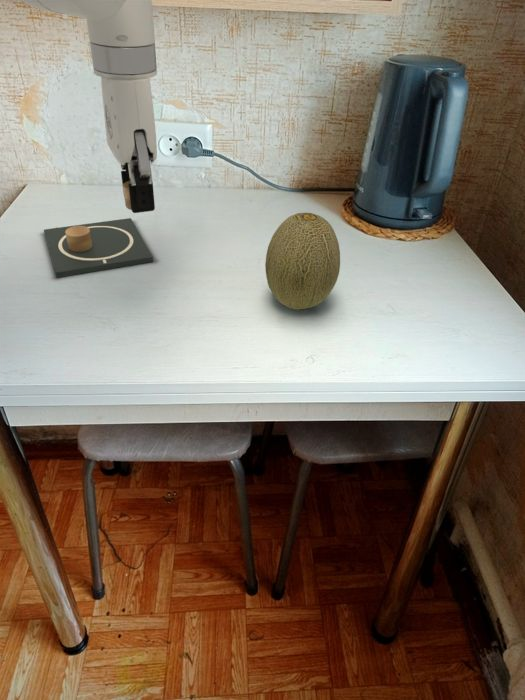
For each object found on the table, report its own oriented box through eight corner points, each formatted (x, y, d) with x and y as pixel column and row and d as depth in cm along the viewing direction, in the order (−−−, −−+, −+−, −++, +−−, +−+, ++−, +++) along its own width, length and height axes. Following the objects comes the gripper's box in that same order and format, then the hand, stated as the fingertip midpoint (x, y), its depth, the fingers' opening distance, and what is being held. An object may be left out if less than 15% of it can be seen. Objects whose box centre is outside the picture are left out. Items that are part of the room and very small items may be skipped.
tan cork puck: (70, 253, 87) (67, 237, 85) (66, 243, 89) (63, 227, 87) (94, 250, 88) (91, 234, 86) (90, 239, 91) (87, 224, 89)
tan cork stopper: (128, 212, 71) (126, 191, 69) (122, 201, 74) (120, 180, 72) (157, 209, 72) (155, 188, 70) (150, 198, 75) (148, 178, 73)
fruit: (328, 330, 76) (344, 239, 66) (255, 317, 77) (261, 226, 68) (336, 290, 85) (351, 204, 75) (270, 279, 86) (277, 194, 77)
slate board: (56, 277, 83) (55, 271, 82) (44, 234, 94) (43, 228, 93) (153, 261, 88) (152, 255, 88) (131, 222, 99) (130, 217, 99)
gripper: (81, 46, 66) (101, 185, 77) (105, 76, 54) (125, 233, 66) (139, 46, 68) (150, 180, 80) (174, 74, 57) (181, 226, 68)
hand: (139, 202), depth 73 cm, fingers closed on tan cork stopper, 4 cm apart
